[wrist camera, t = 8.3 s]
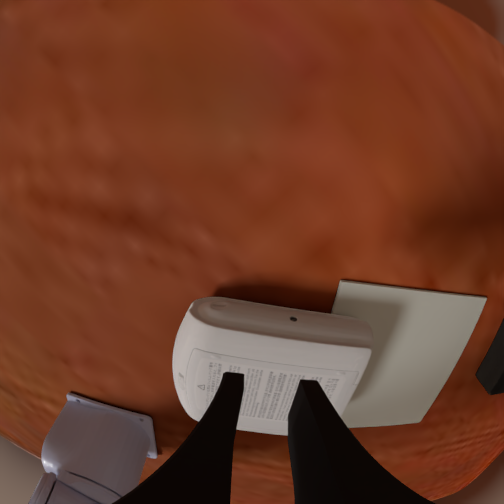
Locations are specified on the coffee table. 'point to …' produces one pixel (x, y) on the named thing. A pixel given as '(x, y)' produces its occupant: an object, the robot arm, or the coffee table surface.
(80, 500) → the robot arm
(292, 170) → the coffee table surface
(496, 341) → the coral
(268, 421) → the photo printer
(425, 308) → the mat
